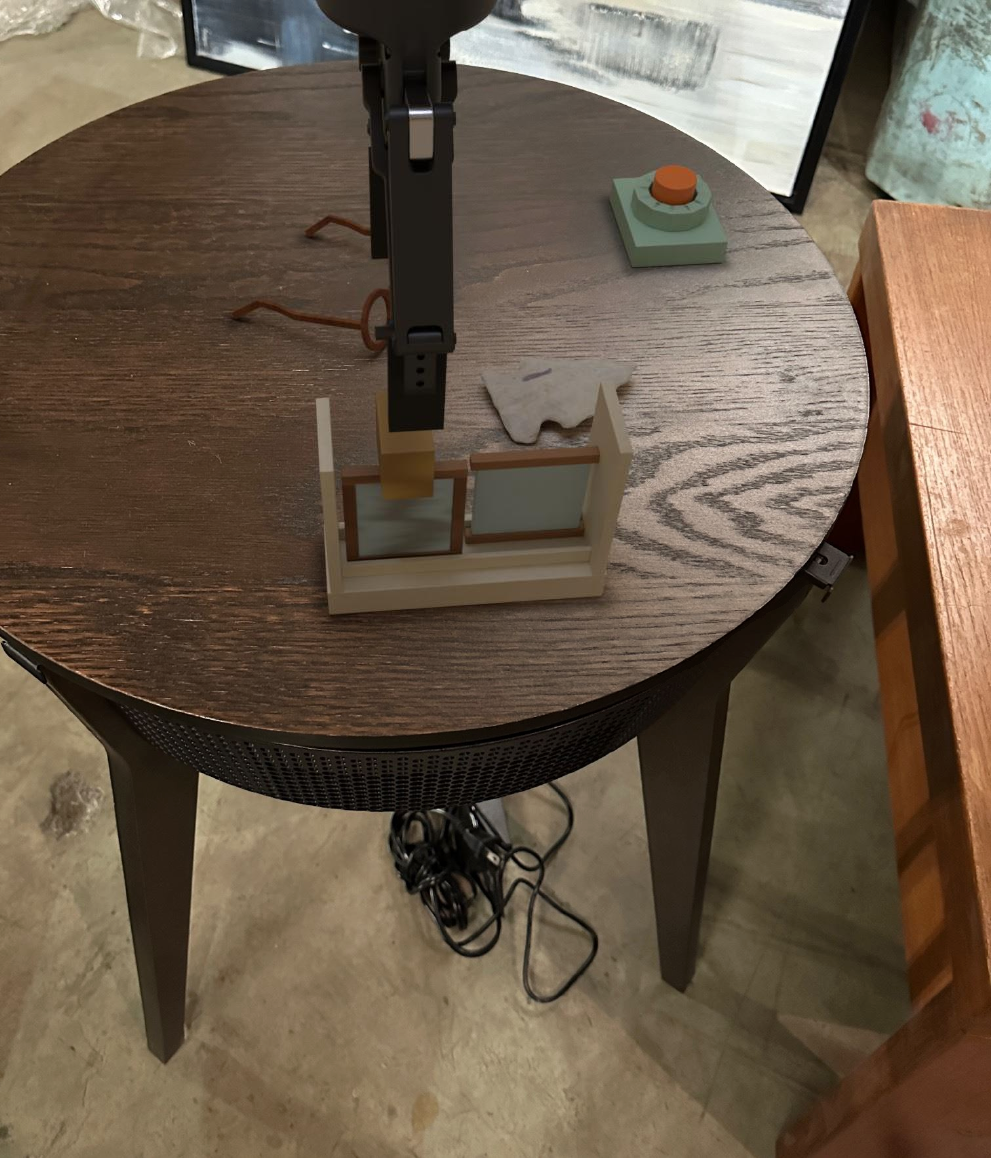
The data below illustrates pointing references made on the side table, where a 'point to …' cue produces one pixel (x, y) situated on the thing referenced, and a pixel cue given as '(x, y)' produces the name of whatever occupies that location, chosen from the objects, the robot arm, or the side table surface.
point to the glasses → (327, 320)
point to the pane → (403, 498)
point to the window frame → (499, 527)
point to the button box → (666, 225)
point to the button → (674, 185)
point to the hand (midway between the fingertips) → (404, 334)
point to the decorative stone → (550, 392)
